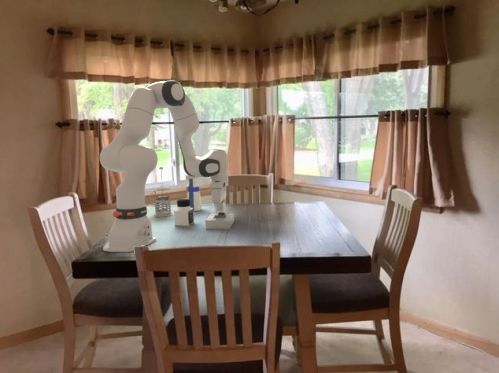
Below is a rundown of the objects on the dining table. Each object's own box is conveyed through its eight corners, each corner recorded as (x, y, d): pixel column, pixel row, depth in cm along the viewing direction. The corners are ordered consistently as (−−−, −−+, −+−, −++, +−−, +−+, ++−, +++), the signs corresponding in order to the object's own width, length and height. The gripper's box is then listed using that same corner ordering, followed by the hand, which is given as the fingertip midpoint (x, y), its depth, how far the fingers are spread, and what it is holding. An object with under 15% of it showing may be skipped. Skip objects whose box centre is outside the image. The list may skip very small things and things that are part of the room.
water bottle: (183, 210, 224) (181, 164, 220) (190, 207, 232) (188, 163, 228) (197, 211, 221) (195, 164, 217) (203, 208, 229) (202, 163, 225)
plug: (223, 218, 204) (223, 200, 202) (215, 218, 204) (215, 200, 203) (225, 216, 208) (224, 199, 206) (217, 216, 208) (216, 199, 207)
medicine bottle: (189, 226, 191) (187, 200, 189) (174, 225, 192) (173, 200, 190) (194, 222, 197) (193, 197, 196) (180, 221, 199) (178, 197, 197)
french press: (170, 216, 210) (168, 167, 206) (148, 216, 210) (145, 168, 206) (174, 212, 220) (172, 165, 216) (153, 212, 220) (150, 166, 216)
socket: (229, 229, 184) (229, 218, 183) (205, 229, 185) (205, 218, 184) (234, 221, 197) (233, 211, 197) (211, 221, 198) (211, 211, 198)
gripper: (216, 179, 214) (217, 205, 216) (209, 185, 194) (210, 214, 196) (228, 179, 213) (229, 205, 215) (222, 185, 193) (223, 214, 195)
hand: (220, 209), depth 205 cm, fingers closed on plug, 4 cm apart
